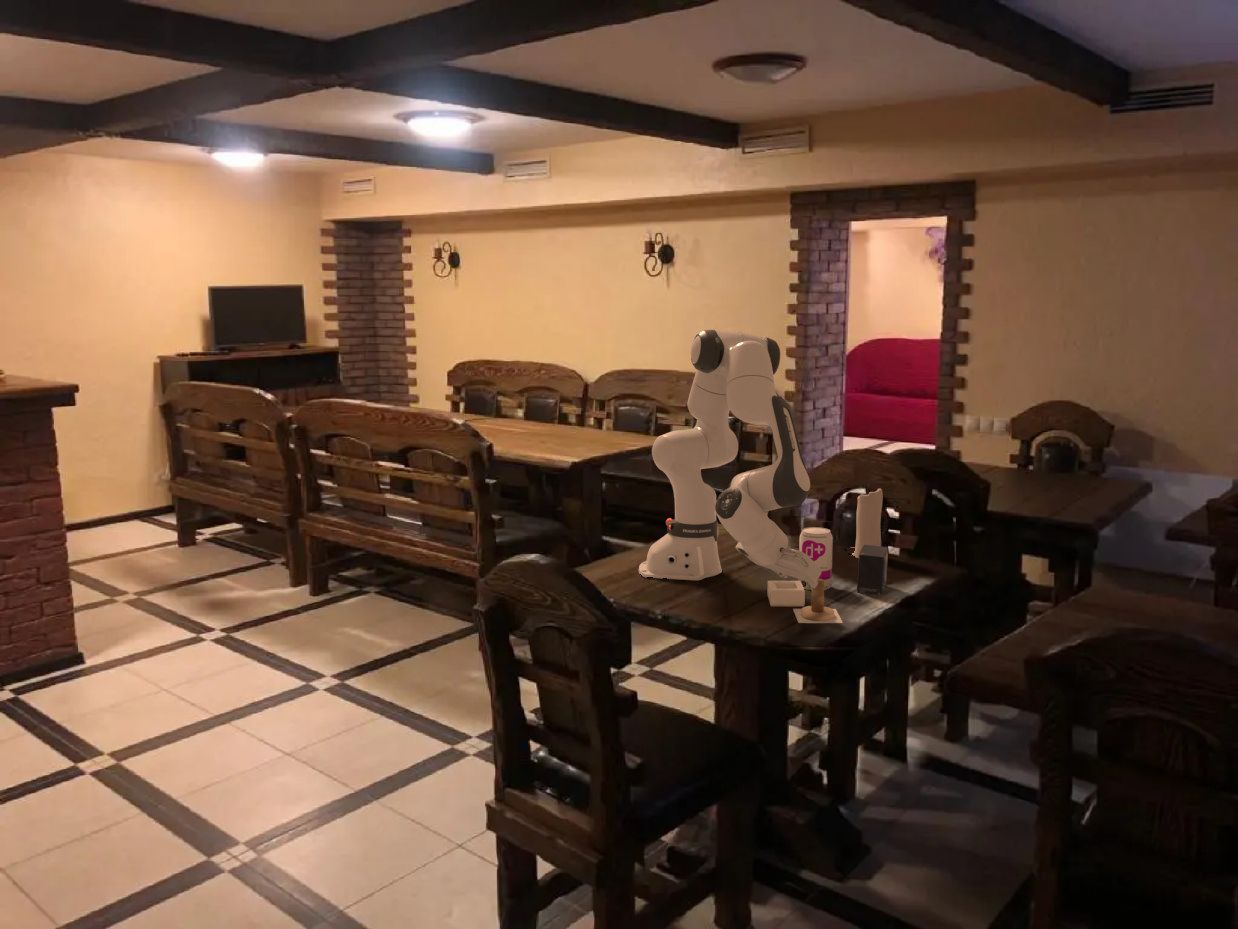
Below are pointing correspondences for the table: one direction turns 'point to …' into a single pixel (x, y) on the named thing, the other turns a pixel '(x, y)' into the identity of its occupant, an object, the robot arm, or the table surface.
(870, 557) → the small box
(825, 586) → the supplement can
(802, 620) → the mat
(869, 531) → the beige wavy upright slab
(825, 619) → the wooden peg stand
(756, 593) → the table surface
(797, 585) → the dish
